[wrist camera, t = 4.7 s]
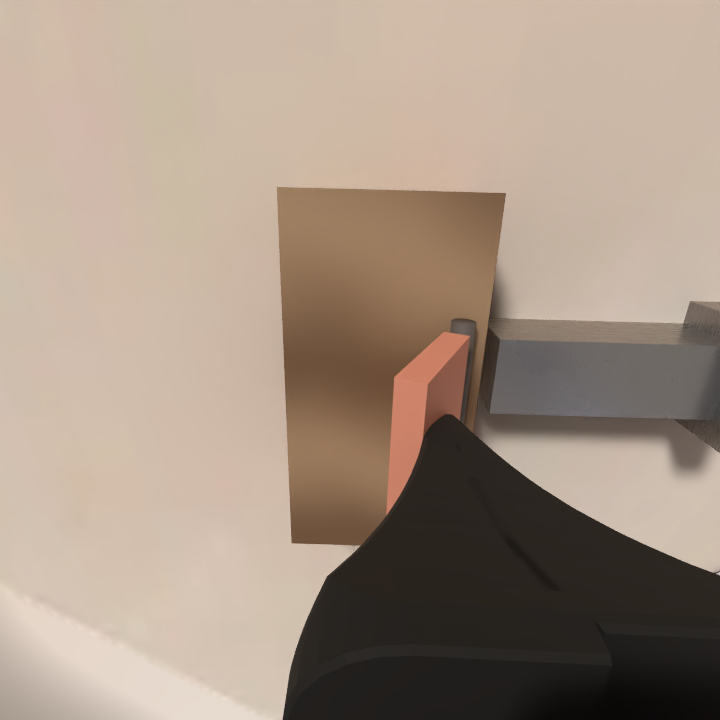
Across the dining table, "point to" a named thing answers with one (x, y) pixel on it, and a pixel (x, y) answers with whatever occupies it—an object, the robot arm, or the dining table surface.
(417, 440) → the flap
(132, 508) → the dining table surface
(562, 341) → the pin
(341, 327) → the block
